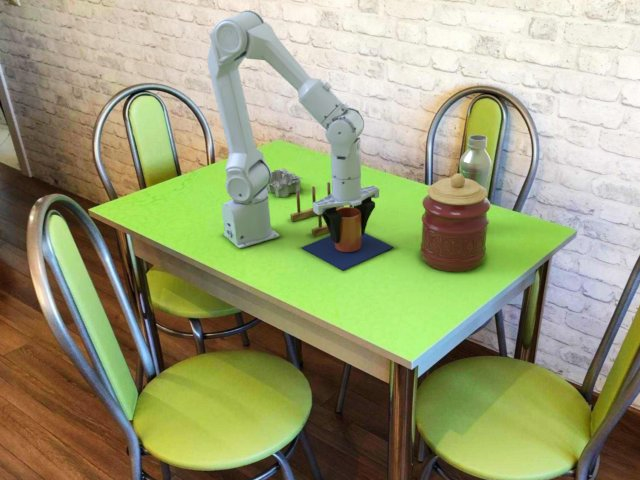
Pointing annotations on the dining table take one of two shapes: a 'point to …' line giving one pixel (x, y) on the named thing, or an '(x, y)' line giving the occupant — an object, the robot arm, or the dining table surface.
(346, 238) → the tumbler
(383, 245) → the cloth
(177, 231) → the dining table surface
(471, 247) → the kitchen canister
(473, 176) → the plastic bottle
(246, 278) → the dining table surface
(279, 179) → the egg carton
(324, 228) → the drying rack
